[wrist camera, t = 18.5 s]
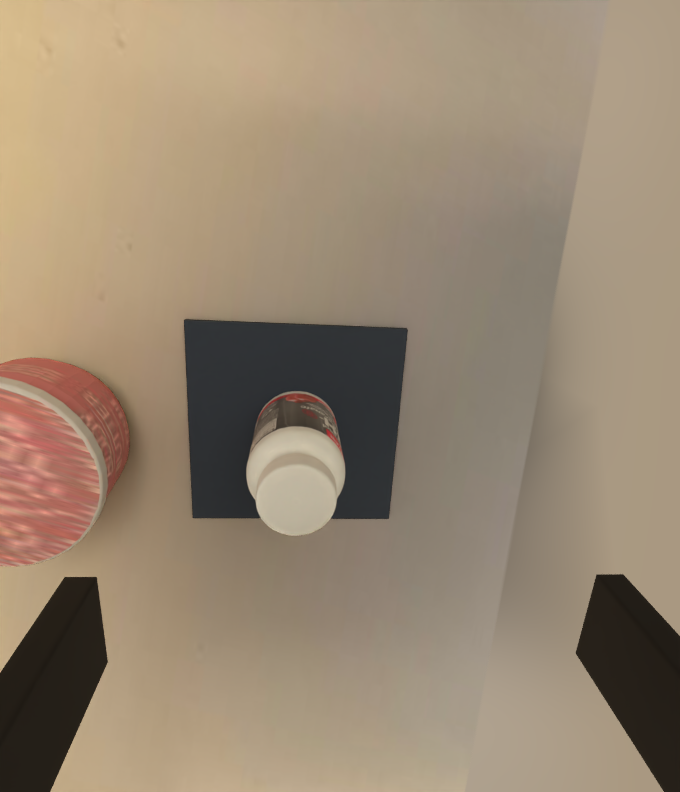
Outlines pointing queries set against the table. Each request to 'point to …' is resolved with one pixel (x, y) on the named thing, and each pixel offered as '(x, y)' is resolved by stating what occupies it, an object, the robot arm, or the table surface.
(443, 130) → the table surface
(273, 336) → the mat
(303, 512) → the pill bottle
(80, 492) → the container
